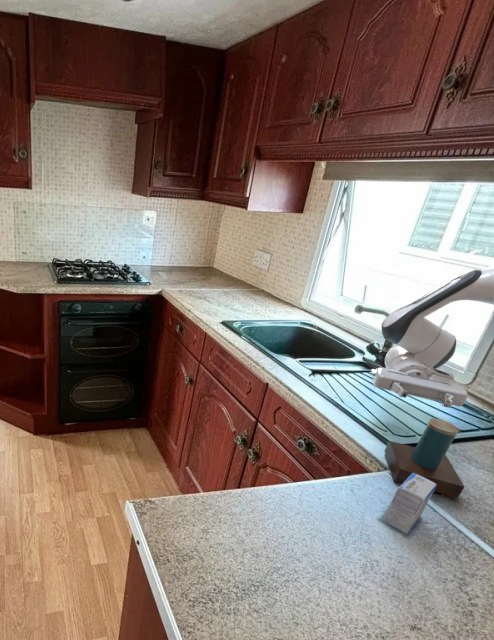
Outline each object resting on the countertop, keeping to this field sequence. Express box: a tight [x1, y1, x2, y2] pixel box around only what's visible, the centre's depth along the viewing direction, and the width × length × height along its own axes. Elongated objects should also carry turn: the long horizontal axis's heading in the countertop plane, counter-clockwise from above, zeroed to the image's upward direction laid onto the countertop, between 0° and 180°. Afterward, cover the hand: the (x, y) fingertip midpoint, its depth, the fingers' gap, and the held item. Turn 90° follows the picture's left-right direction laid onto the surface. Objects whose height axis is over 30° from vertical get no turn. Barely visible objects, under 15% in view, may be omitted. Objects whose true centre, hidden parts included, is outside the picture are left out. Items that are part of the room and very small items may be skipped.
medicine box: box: [382, 473, 437, 535], centre depth 78 cm, size 8×4×9 cm, turn 129°
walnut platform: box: [384, 440, 465, 500], centre depth 93 cm, size 12×12×4 cm
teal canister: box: [411, 418, 460, 469], centre depth 90 cm, size 5×5×10 cm
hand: (425, 399), depth 99 cm, fingers open, 8 cm apart
